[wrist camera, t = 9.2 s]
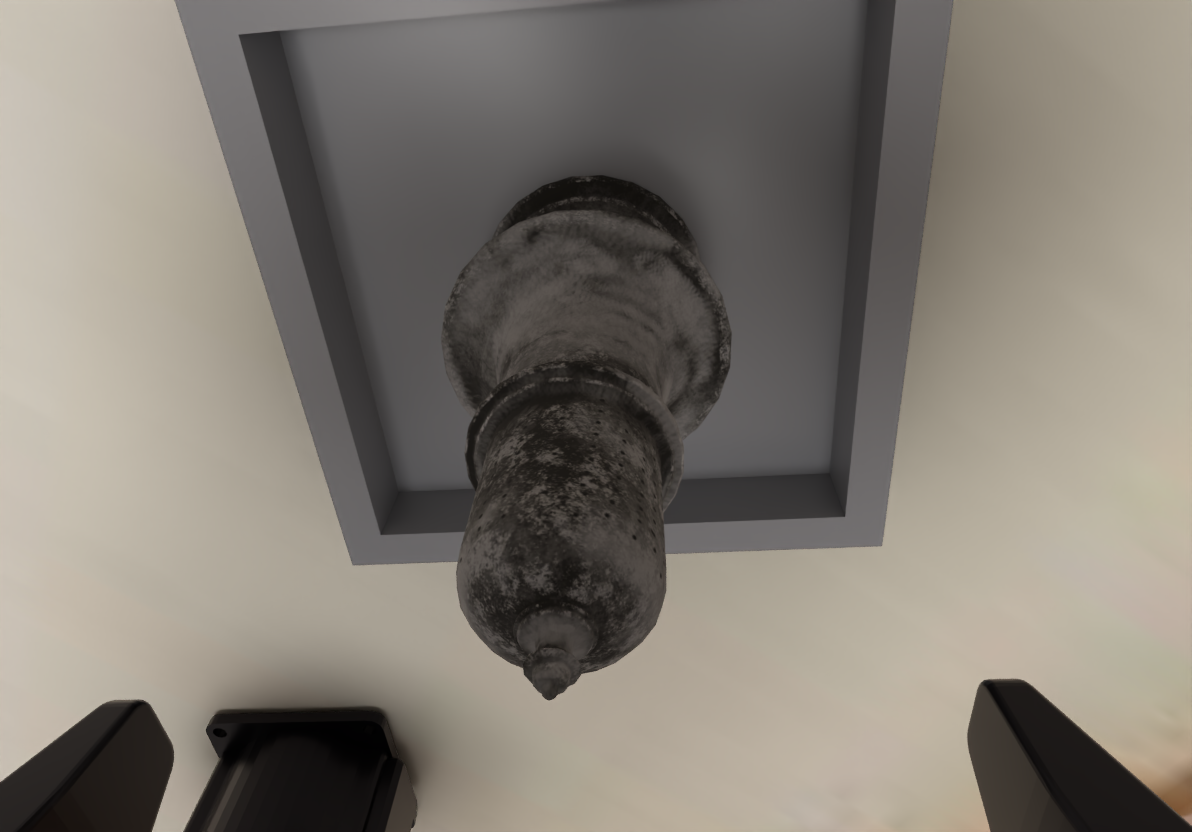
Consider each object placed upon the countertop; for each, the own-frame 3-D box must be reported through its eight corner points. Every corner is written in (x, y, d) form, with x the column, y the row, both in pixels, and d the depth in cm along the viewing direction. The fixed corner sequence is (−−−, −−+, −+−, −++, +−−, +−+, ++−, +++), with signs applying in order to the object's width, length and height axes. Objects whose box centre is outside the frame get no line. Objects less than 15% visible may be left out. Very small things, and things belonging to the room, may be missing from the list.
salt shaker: (736, 174, 18) (879, 517, 7) (696, 401, 21) (758, 864, 11) (470, 149, 18) (249, 460, 7) (470, 381, 21) (314, 826, 11)
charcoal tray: (377, 508, 24) (352, 565, 22) (228, -28, 17) (168, -22, 14) (858, 488, 23) (881, 546, 21) (920, -95, 16) (966, -99, 13)
